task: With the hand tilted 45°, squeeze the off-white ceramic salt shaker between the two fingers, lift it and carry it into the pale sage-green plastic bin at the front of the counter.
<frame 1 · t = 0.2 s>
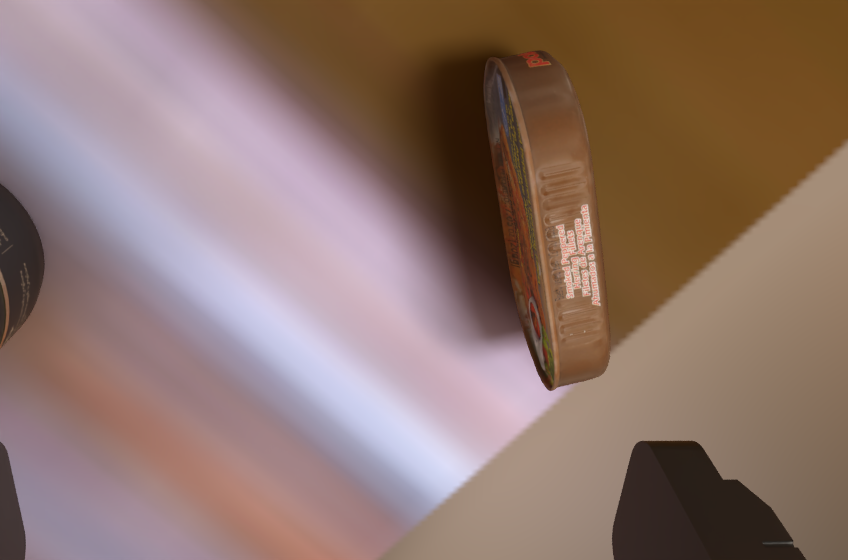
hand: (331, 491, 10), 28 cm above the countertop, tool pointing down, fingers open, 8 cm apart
tin: (529, 196, 38), on the countertop
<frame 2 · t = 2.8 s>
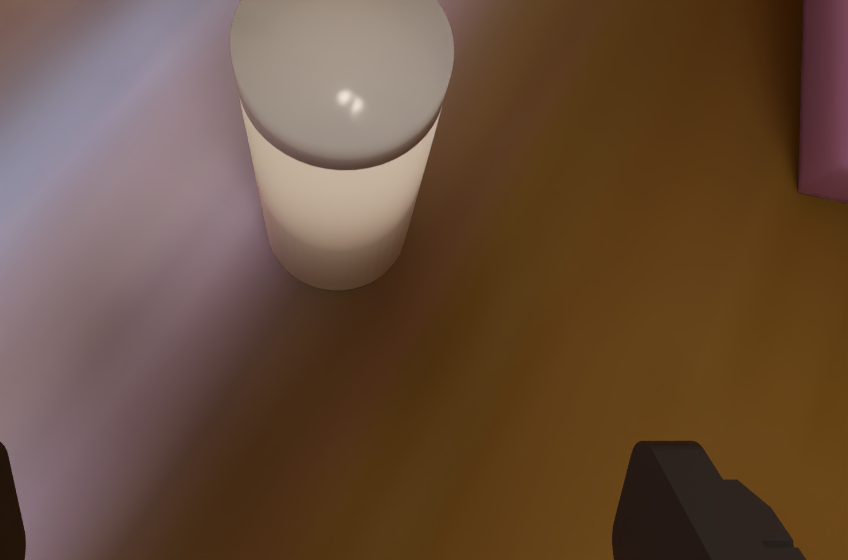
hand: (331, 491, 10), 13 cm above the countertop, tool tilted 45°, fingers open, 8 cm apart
salt shaker: (337, 223, 25), on the countertop
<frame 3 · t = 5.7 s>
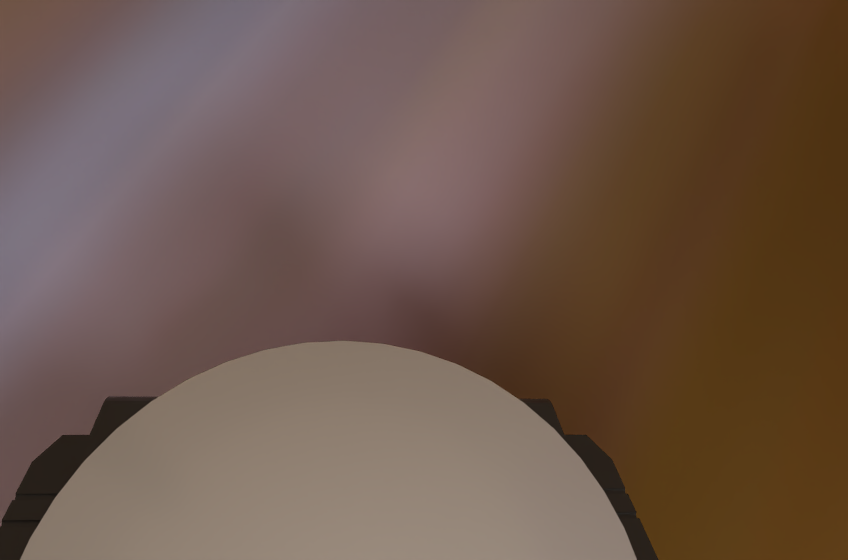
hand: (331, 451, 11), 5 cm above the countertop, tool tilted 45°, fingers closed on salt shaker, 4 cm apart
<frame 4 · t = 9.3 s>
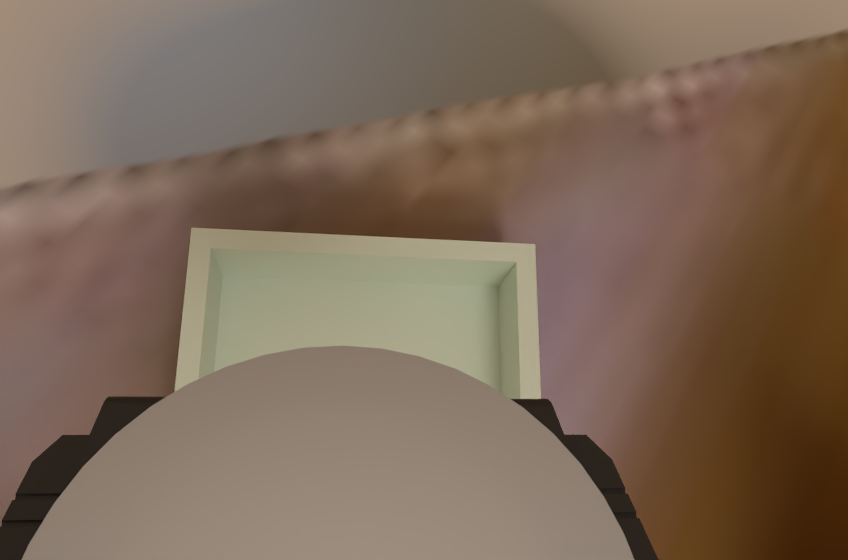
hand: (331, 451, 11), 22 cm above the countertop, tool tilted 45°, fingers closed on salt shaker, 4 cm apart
bin: (357, 423, 33), on the countertop
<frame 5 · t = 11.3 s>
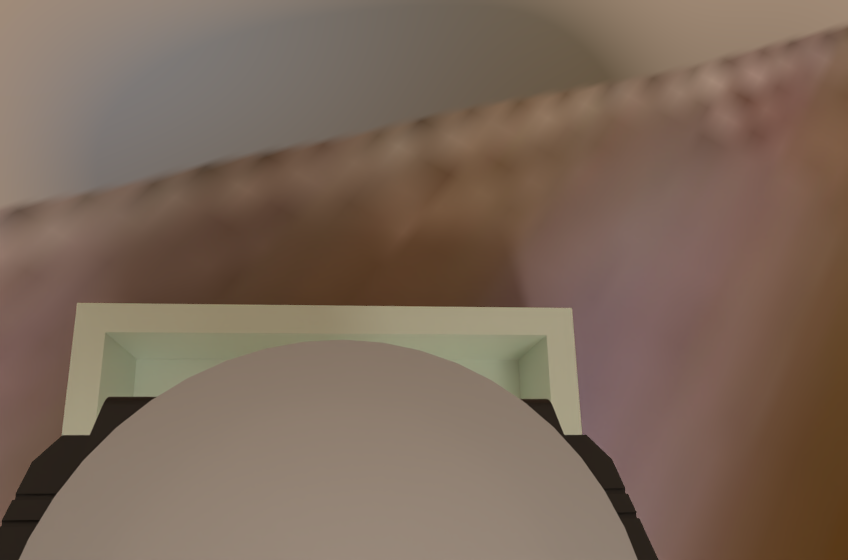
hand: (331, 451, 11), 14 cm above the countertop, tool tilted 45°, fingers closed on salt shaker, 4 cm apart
bin: (329, 559, 24), on the countertop
when the fingers open (7 cm above the countertop, at t = 13.0 s): salt shaker drops 1 cm, resting on bin.
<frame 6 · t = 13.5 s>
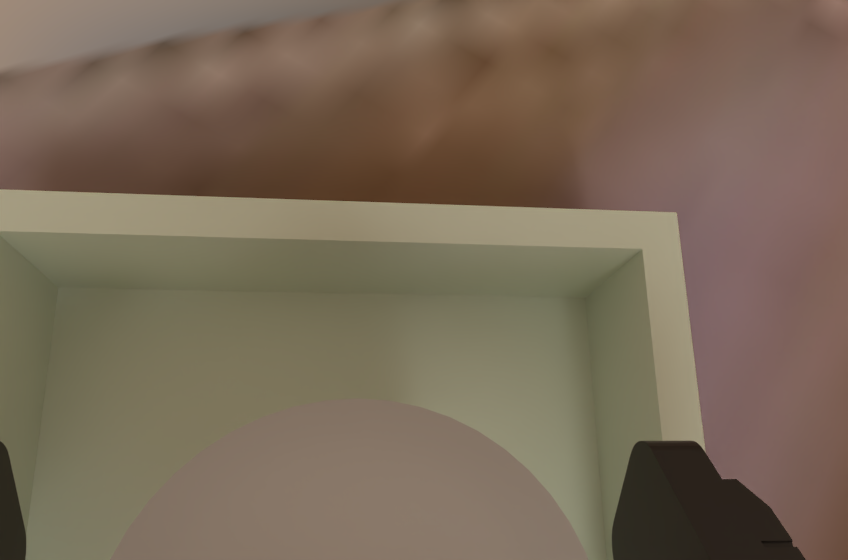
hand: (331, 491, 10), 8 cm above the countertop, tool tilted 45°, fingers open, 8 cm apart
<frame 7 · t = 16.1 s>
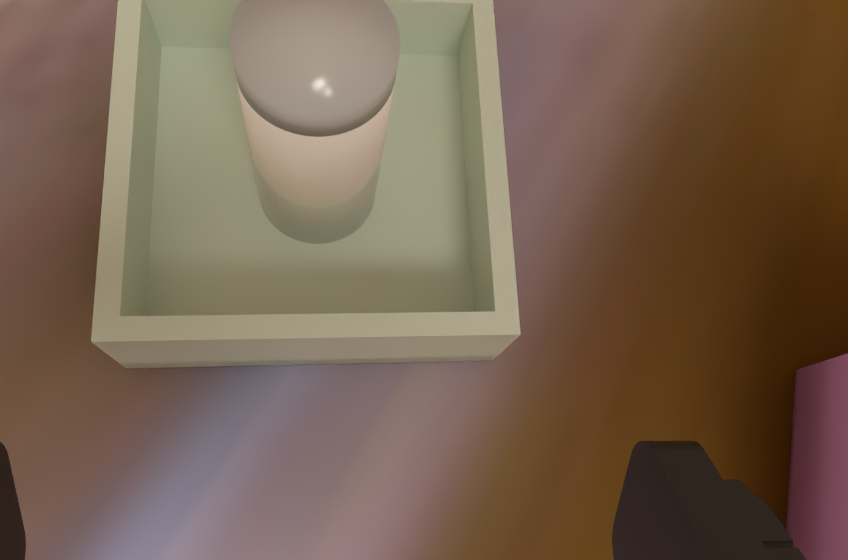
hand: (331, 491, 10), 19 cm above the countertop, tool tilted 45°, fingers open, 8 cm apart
salt shaker: (317, 189, 30), point 1 cm above the countertop, touching bin
bin: (314, 196, 31), on the countertop
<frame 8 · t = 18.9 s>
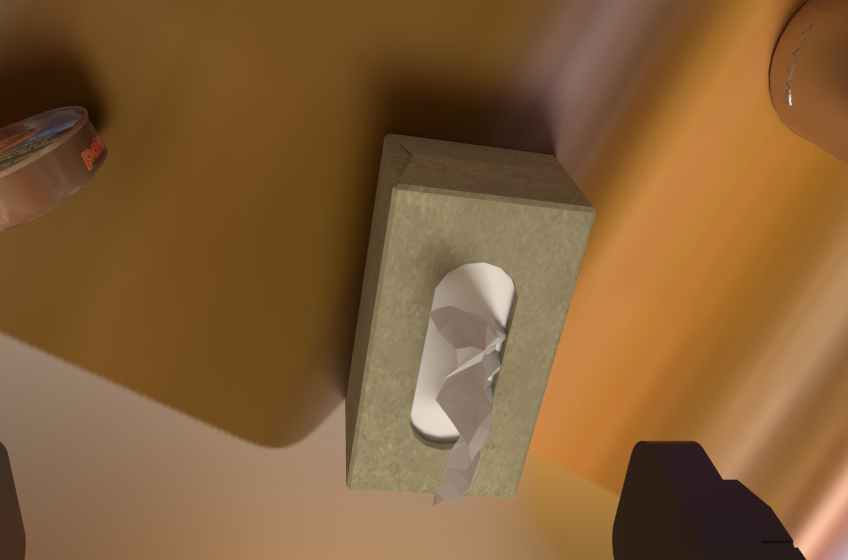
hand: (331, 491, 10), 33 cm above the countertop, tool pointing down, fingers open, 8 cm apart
tissue box: (442, 286, 47), on the countertop
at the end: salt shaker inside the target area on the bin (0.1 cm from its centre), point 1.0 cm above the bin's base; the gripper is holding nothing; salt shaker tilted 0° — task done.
